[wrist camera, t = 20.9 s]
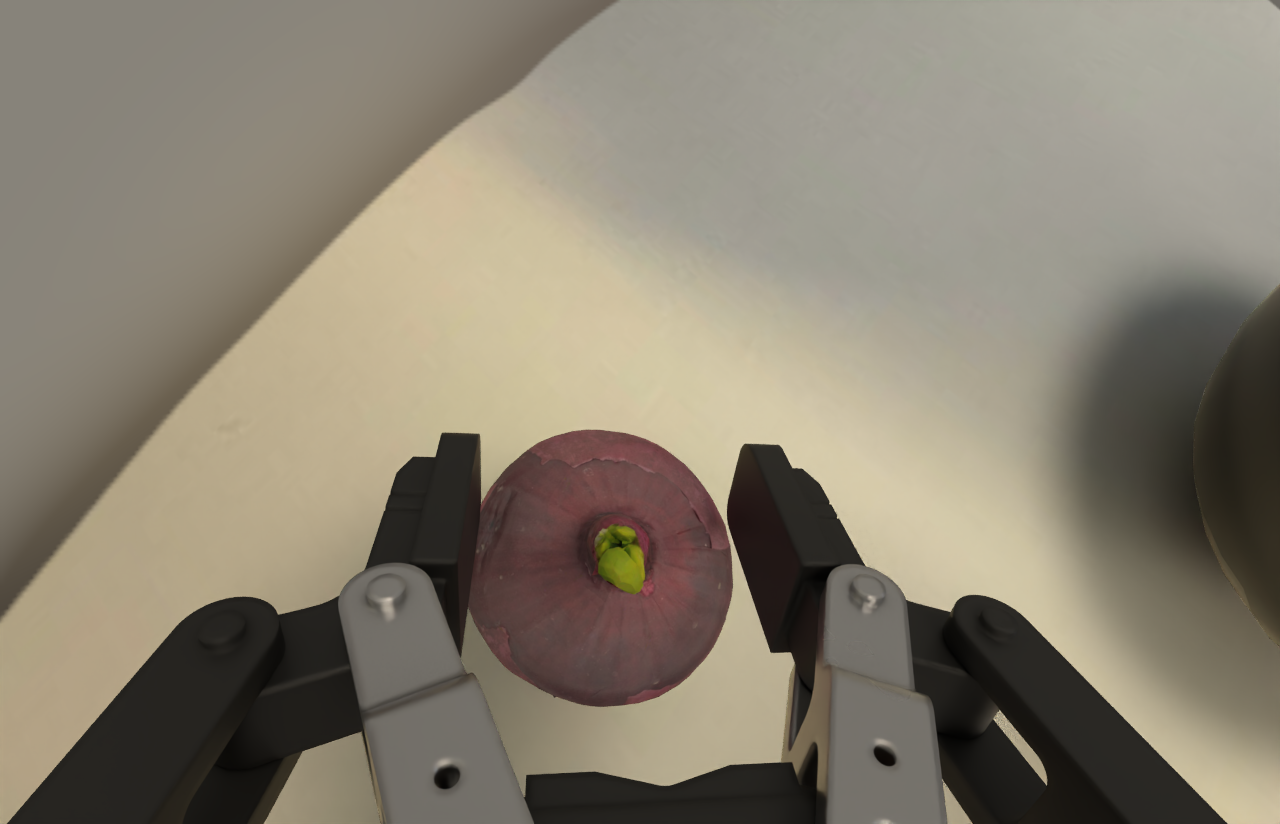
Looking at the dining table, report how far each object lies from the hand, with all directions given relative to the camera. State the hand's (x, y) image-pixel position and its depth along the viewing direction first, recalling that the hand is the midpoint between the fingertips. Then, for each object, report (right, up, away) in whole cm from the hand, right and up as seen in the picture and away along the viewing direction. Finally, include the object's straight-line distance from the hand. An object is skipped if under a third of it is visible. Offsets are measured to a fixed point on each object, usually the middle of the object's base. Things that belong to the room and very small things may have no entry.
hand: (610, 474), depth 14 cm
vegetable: (-1, -3, +5) cm, 6 cm away
